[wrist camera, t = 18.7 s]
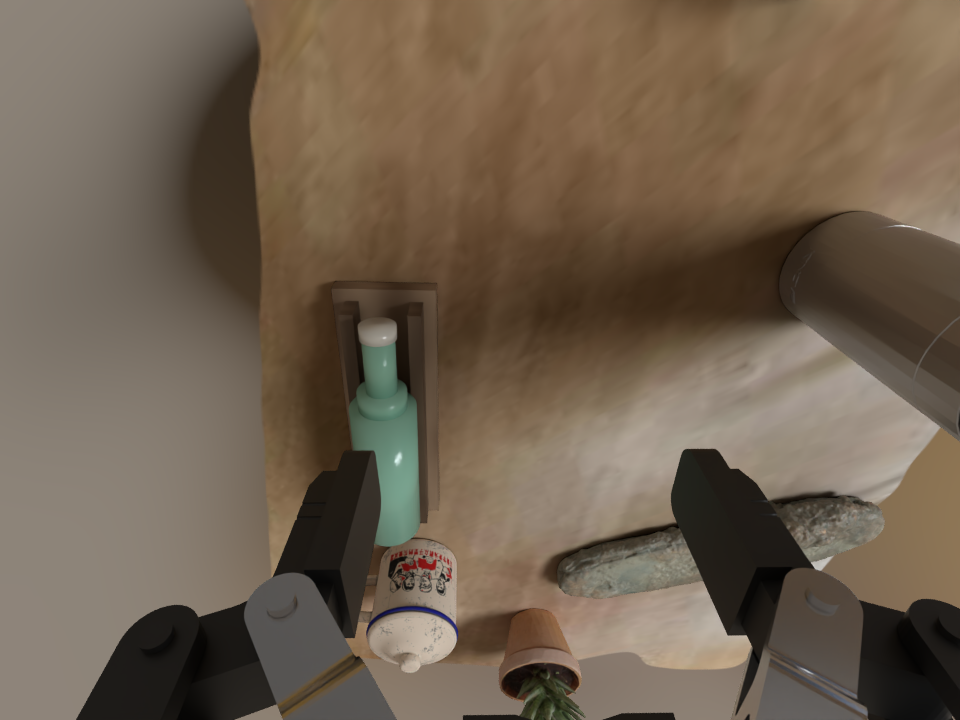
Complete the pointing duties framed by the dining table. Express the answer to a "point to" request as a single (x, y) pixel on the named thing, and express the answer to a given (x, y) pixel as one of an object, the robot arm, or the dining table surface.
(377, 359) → the bottle
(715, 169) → the dining table surface
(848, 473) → the dining table surface
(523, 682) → the potted plant
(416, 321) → the cradle
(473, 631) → the dining table surface
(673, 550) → the elongated rock
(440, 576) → the teacup with lid
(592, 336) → the dining table surface
